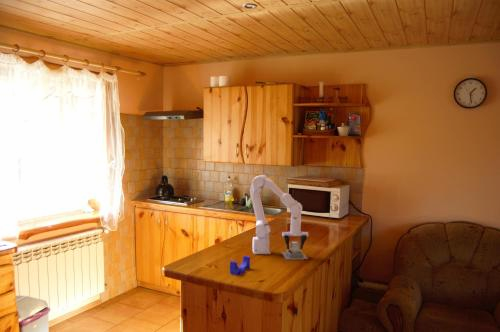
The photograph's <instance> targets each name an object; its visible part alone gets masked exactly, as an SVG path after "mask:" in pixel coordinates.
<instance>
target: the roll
mask: <svg viewBox="0 0 500 332" xmlns="http://www.w3.org/2000/svg"><path fill="white" fill-rule="evenodd" d="M290 250H291V254H293V253H299V250H300V243H299V242H298V241H291V242H290Z"/></svg>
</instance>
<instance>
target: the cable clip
mask: <svg viewBox="0 0 500 332" xmlns="http://www.w3.org/2000/svg"><path fill="white" fill-rule="evenodd" d="M229 261H230V263H229V274H231V275H234V276H239V275H241V274H243V273H246V270H249V269H250V268H251V257H250V256H249V255H244V256H243V257H242V261H241V263H240V264H239V266H238V261H234V260H229Z"/></svg>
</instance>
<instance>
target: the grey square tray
mask: <svg viewBox="0 0 500 332" xmlns="http://www.w3.org/2000/svg"><path fill="white" fill-rule="evenodd" d="M280 253H281V255H282V256H283V257H284V259H285V260H286V261H291V260H293V261H294V260H295V261H297V260H303V261H304V259H307V260H309V258H308V257H307V256H306V254H304V252H303V251H302V250H301V249H299V253H293V254H291V249H286V250H285V251H281V252H280Z"/></svg>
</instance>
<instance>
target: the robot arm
mask: <svg viewBox="0 0 500 332" xmlns="http://www.w3.org/2000/svg"><path fill="white" fill-rule="evenodd" d="M263 188H264V189H269V190H271V192H273V193H274V194H275V195H277V196H278V197H279V198H280V200H279V201H280V202H281V203H282V204H283V205H284V206H285V207H286V208H288V209H289V211H290V225H289V227H290V229H289V231H282V232H281V236H282V237H283V238H284V242H285V244H286V250H290V239H291V238H290V237H299V239H300V243H299V250H303V248H304V244H305V242H306V241H307V239H308V237H309V232H308V231H301V230H302V229H301V227H302V226H301V225H302V211H303V205H302V204H301V202H298V200H295V199H294V198H293V197H292V195H291V194H290V193H288V192H287V193H285V192H284V191H282V189H281V188H280V187H279V186H278V185H277V184H276V183H275V182H274V181H273V180H272V179H271V178H270V177H268V176H267V175H266V174H260V175H257V176H255V177H254V178H253V179H252V180H251V185H250V189H249V193H250V194H249V195H250V199H251V204H252V207H253V213H254V216H255V221H256V222H255V235H256V236H253V237H252V243H251V245H252V246H251V248H252V250H251V251H252V253H253V254H254V255H271V252H270V233H271V226H270V225H269V223H268V220H267V219H266V217H265V213H264V206H263V204H262V198H261V195H260V192H261V191H262V189H263Z"/></svg>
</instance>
